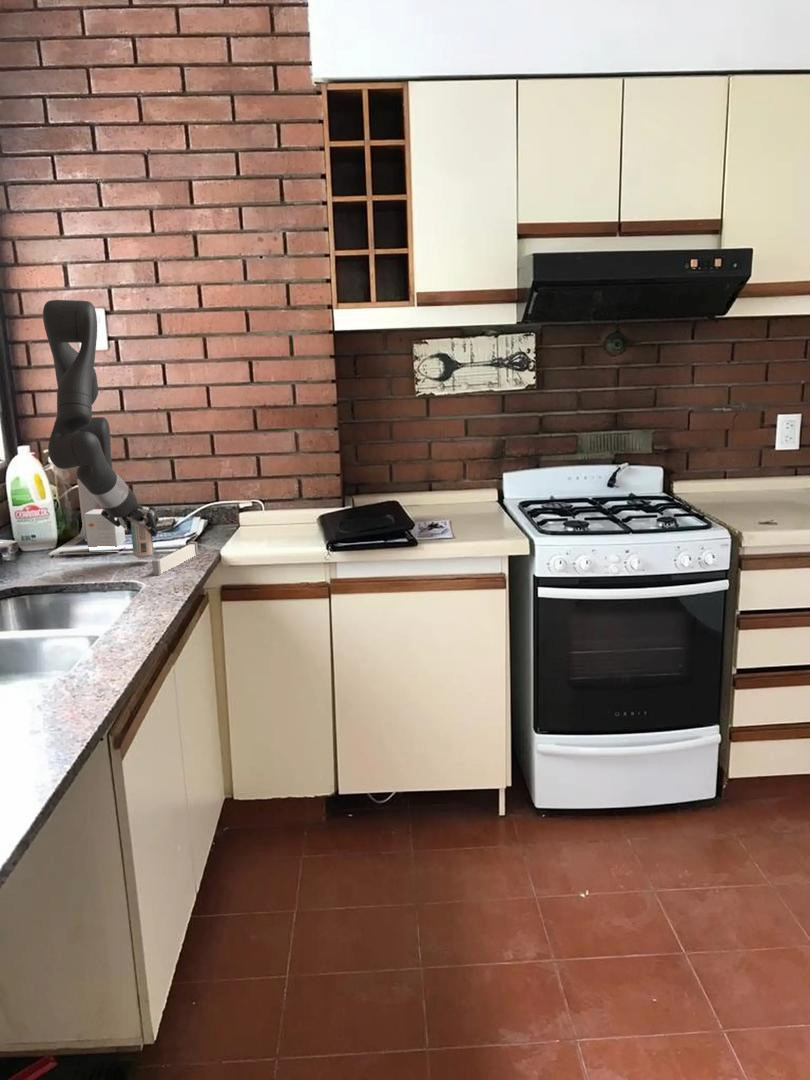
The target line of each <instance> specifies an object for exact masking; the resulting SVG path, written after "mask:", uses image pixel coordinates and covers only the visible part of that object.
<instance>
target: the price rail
mask: <svg viewBox="0 0 810 1080" xmlns="http://www.w3.org/2000/svg"><path fill="white" fill-rule="evenodd" d="M194 556H195V557H197V556H199V549H198V542H197V541H191V542H190V541H189V544H188V545H186V546H185V547H182V548H180V549H177V550H175V551H174V552H172V553H169V554H168V555H165V556H163V557H162V558H159V559H157V560H156V559H153V560H151V565H152V566H151V567H152V575H153V576H161V575H162V574H163V572H164V573H166V572H167V571H169V569H170V570H171V568H172V569H173V568H175V567H177V566H179V565H181V564H182V563H184V561H185V562H187V561H189V560H190V558H191V559H193V558H195V557H194ZM192 557H193V558H192ZM188 559H189V560H188ZM186 560H187V561H186ZM165 571H166V572H165Z"/></svg>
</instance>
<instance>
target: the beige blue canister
mask: <svg viewBox="0 0 810 1080" xmlns="http://www.w3.org/2000/svg"><path fill="white" fill-rule="evenodd" d="M141 506H142V505H141ZM142 507H143V509H148V510H149V507H148V506H145V505H143V506H142ZM139 521H140V519H139ZM147 522H148V521H147V520H145V523H146V524H147ZM130 524H131V533H130V535H131V544H132V553H133V556H134V557H136V558H139V559H140V558H142V559H143V558H144V559H145V558H149V557H151V556H152V555H154V553H155V552H154V540H153V536H152V535H151V534H150V533H149V532H148V531H147V529H146V528H145V527H143V526H142V525H141V526H139V525H137V524H136V523H134V522H133V521H130Z"/></svg>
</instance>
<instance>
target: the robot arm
mask: <svg viewBox="0 0 810 1080" xmlns="http://www.w3.org/2000/svg"><path fill="white" fill-rule="evenodd" d="M42 309H43V310H42V320H43V325H44V330H45V334H46V338H47V341H48V345H49V348H50V351H51V354H52V359H53V364H54V372H55V378H56V379H55V380H56V384H57V391H56V414H57V415H56V419H55V420H54V424H53V428H52V430H51V434H50V435H49V442H48V445H47V447H48V448H47V449H48V450H47V452H48V456H49V459H50V461H51V463H52V464H53V465H54V466H55V467H56V468H58V469H61V470H65V469H66V470H67V469H71V468H72V469H73V468H77V467H78V468H77V469H76V481H77V488H78V496H79V498H78V499H79V504H80V506H79V507H80V515H81V516H80V517H81V522H82V533H83V534H82V535H83V540H84V539H87V535H86V526H85V518H84V514H85V513H87V512H89V511H91V510H93V509H103V510H102V512H101V515H102V516H104V517H105V518H106V519H107V520H109V521H110V522H111V523H113V524H114V525H115V526H117V527H119V526H120V525H121V526H122V527H123V528H124V529H125V530H127V531H128V532H129V533H130V534H131V524H130V521H133V522H134V523H136V524H137V525H139V526H141V525H142V526H143V527H145V528H146V529H147V531H148V532H149V533H150V534H151V535H152V538H156V537H157V535H158V533H159V528H158V527H157V525H158V523H159V521H160V519H159V516H158V513H157V510H156V508H155V507H152V506H149V507H148V509H149V510H148V509H143V507H142V505H141V504H139V502H138V500H137V497H136V496H137V495H136V494H135V493H134V492H133V491H132V489H131V488H130V487H129V486H128V484H127V483H126V482H125V481H124V479H122V477H121V476H119V474H117V472H115V470H114V469H113V462H112V450H111V449H112V448H111V447H112V446H111V444H112V443H111V431H110V424H109V421H108V420H107V419H106V418H105V417H103V416H96V417H95V416H93V413H92V412H93V411H92V409H93V407H92V406H93V405H94V403H95V401H96V400H97V398H98V395H99V383H98V377H97V372H96V369H95V359H96V349H97V339H98V317H97V311H96V308H95V306H94V304H93V303H92V301H91V302H90V301H87V300H75V299H74V300H73V299H69V300H68V299H67V300H66V299H53V300H48V301H46V302H45V304H44V305H43V308H42ZM70 343H77V344H78V343H79V344H81V345H80V348H79V351H78V350H76V349H75V348H73V346H71V344H70ZM115 518H117V520H115ZM139 519H140V521H139ZM145 520H147V521H148V522H147V524H146V523H145Z"/></svg>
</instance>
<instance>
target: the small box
mask: <svg viewBox="0 0 810 1080" xmlns="http://www.w3.org/2000/svg"><path fill="white" fill-rule="evenodd" d="M102 510H103V509H93V510H91V511H89V512H87V513H85V514H84V518H85V526H86V535H87V542H86V543H87V548H88V547H97V546H115V547H117V546H119V545H120V544H122V543H123V542H124V541H126V533H125V528H123V527H122V526H121V525H120V526H119V527H117V526H115V525H114V524H113V523H111V522H110V521H109V520H107V519H106V518H105V517H104V516H102V515H101V512H102ZM115 520H117V518H115ZM126 542H127V541H126Z"/></svg>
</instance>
